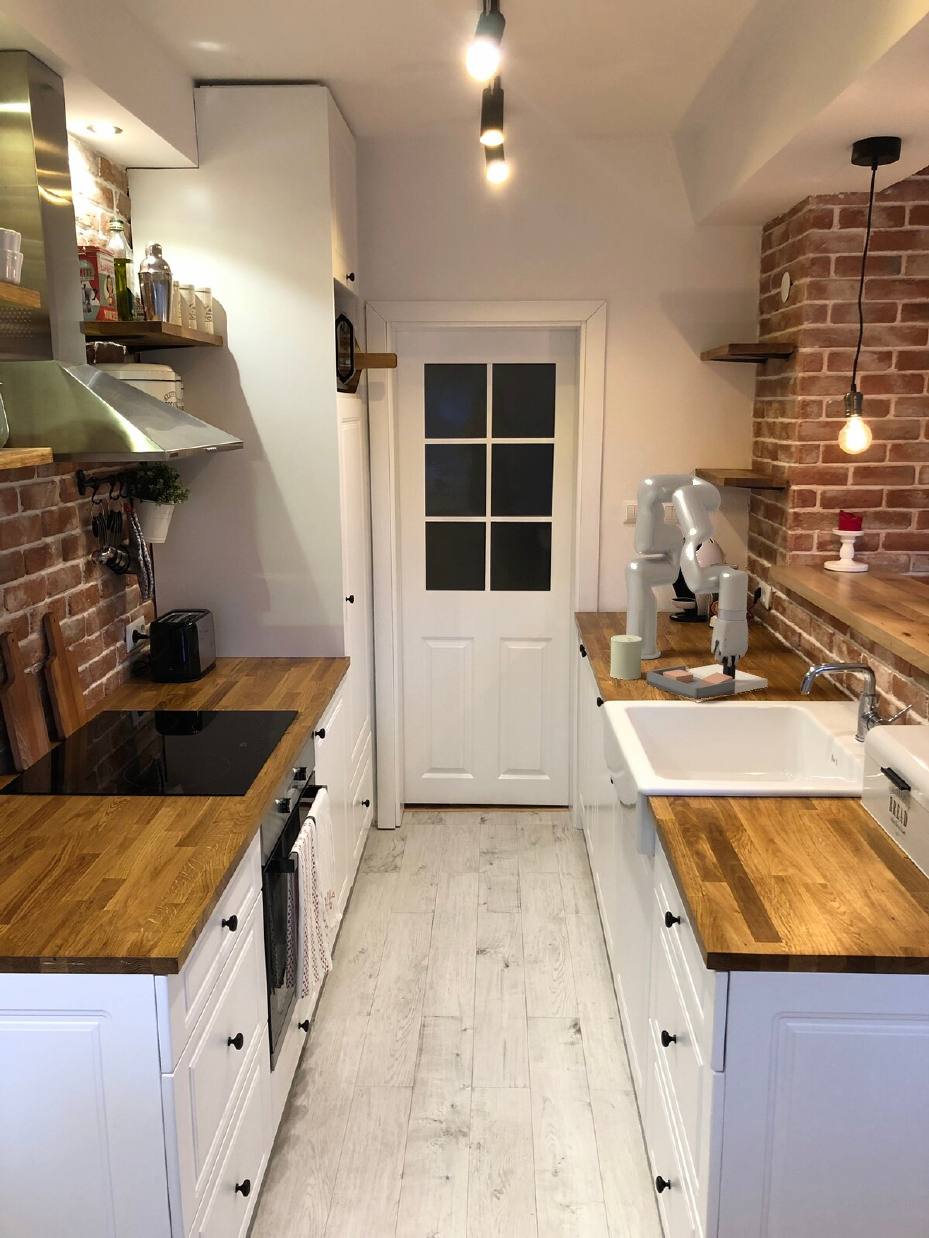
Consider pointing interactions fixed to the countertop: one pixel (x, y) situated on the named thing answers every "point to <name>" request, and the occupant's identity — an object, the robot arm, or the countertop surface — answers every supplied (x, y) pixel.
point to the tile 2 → (715, 679)
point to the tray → (688, 685)
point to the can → (626, 657)
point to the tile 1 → (679, 675)
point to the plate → (741, 679)
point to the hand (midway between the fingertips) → (728, 678)
